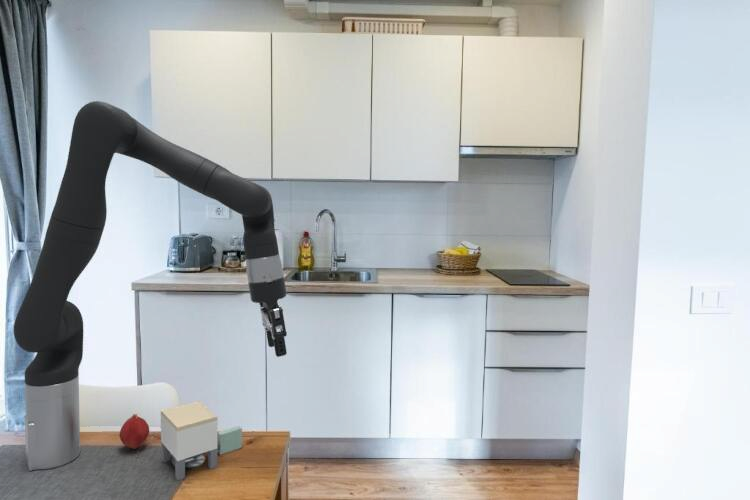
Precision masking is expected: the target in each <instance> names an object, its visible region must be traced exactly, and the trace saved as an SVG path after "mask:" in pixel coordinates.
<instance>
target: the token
mask: <svg viewBox="0 0 750 500" xmlns="http://www.w3.org/2000/svg"><path fill="white" fill-rule="evenodd" d="M205 462H206V456H204V454H203V455H200V456H197V457H194V458H191V459H188V460H185V468H190V469H191V468H197V467H200V466H201V465H203V464H204V463H205Z"/></svg>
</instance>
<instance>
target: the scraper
mask: <svg viewBox="0 0 750 500" xmlns="http://www.w3.org/2000/svg"><path fill="white" fill-rule="evenodd" d="M242 448H243V427H241V426H240V425H237V426H233V427H230V428H227V429H224V430H220V431H217V454H219V455H220V456H222V455H225V454H227V453H230V452H233V451H236V450H239V449H242ZM207 454H208V452H205V453H201V454H198V455H195V456H192V457H189V458H186V459H185V460H188V459H191V458H194V457H197V456H200V455H203V456H204V455H207ZM171 464H172V465H173V466H174V467H175V457H174V456H173V455H172V454H171Z"/></svg>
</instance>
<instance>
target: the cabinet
mask: <svg viewBox="0 0 750 500" xmlns="http://www.w3.org/2000/svg"><path fill="white" fill-rule="evenodd" d="M217 432H218V416H217V414H215V413H214V412H212V411H211V410H210V409H209V408H208V407H206V406H205V404H203V403H201V402H200V400H199V401H194V402H190V403H186V404H182V405H178V406H177V405H176V406H173V407H170V408H165V409H161V410H160V442H161V443H160V447H161V449H160V456H161V458H160V460H161V461H162V462H163V463H166V462H169V461H171V456H172V455H173V456H174V457H175V466H174V469H175V472H174V474H175V475H174V478H175V480H177V482H179V481H181V480H184V479H185V478H186V467H185V459H186V458H189V457H192V456H195V455H198V454H201V453H205V452H208V453H207V467H208V468H209V469H210V470H213V469H216V468H217V467H218V452H217Z"/></svg>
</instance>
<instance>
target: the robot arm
mask: <svg viewBox="0 0 750 500" xmlns="http://www.w3.org/2000/svg"><path fill="white" fill-rule="evenodd" d="M70 136H71V137H70V142H69V144H70V145H69V150H68V155H67V160H66V161H67V162H66V166H65V170H64V174H63V176H62V179H61V182H60V185H59V189H58V193H57V196H56V200H55V203H54V205H53V206H54V207H53V210H52V211H51V214H50V218H49V221H48V226H47V228H46V231H45V236H44V240H43V243H42V244H43V245H42V247H41V251H40V253H39V256H38V260H37V264H36V265H35V270H34V272H33V276H32V280H31V282H30V284H29V286H28V289H27V291H26V294H25V296H24V298H23V301H22V302H21V305H20V308H19V309H18V312H17V314H16V316H15V319H14V324H13V336H14V340H15V342H16V344H17V345H18V346H19V347H20V348H21V349H22V350H23V351H26V352H28V353H36V355H35V356H34V358H33V360H32V361H31V362H30V363H29V364H28V365H27V367H26V368H25V370H24V397H25V398H24V400H25V402H24V403H25V414H24V435H25V436H24V437H25V440H24V441H25V444H24V446H25V460H26V464H27V465H26V466H27V469H28V471H29V472H30V471H35V470H47V469H53V468H57V467H60V466H63V465H66V464H68V463H70V462H72V461H74V460H75V459H77V458H78V457H79V455H80V454H81V428H80V425H81V423H80V417H81V416H80V386H79V385H80V380H79V379H80V378H79V377H80V375H79V373H80V372H79V369H80V365H81V363H82V361H83V354H84V353H83V352H84V319H83V316H82V313H81V311H80V309H79V307H78V306H76V305H75V304H74V302H71V301H68V297H69V294H70V292H71V290H72V288H73V286H74V284H75V283H76V281H77V280H78V278H79V277H80V276H81V274H82V273H83V271H84V270H85V269H86V268H87V266H88V265H89V263H90V262H91V261H92V259H93V257H94V256H95V254H96V252H97V250H98V247H99V245H100V242H101V239H102V237H103V236H102V235H103V232H104V229H105V226H106V221H107V213H108V211H107V209H108V208H107V197H106V180H107V176H108V172H109V169H110V166H111V164H112V160H113V157H114V155H115V154H119V155H123V156H127V157H128V158H132V159H135V160H139V161H141V162H143V163H145V164H148V165H149V166H152V167H154V168H155V169H157V170H159V171H161V172H162V173H164V174H166V175H167V176H169V177H170V178H171V179H173V180H174V181H177V182H178V183H180V184H181V185H184V186H186V187H187V188H190V189H191V190H192V191H195V192H198V194H201V195H203V196H205V197H208V198H209V199H213V200H215V201H217V202H219V203H221V204H222V205H223V206H225V207H227V208H228V209H230V210H232V211H234V212H235V213H237V214H240V215H241V219H242V224H243V231H244V232H243V235H242V243H243V251H244V257H245V265H246V266H245V270H246V275H247V282H248V289H249V294H250V300H251V302H253V303H255V304H259V306H260V315H261V322H262V326H263V328H264V331H265V333H266V339H267V345H268V347H269V348H273V347H274V351H275V352H274V353H275V356H276V358H279V357H283V356H286V355H287V346H286V341H285V337H287V336H288V335H287V334H288V332H287V331H286V324H285V318H284V310H283V308H282V306H280V305H279V302H278V301H279V300H281V299H284V298H286V296H287V289H286V281H285V276H284V269H283V268H284V267H283V264H282V260H281V257H280V252H279V244H278V238H277V235H276V230H275V215H274V214H275V213H274V204H273V198H272V195H271V194H270V191H268V189H267V188H265V187H264V186H262V185H260V184H257V183H256V182H253V181H250V180H249V179H246V178H244V177H242V176H240V175H238V174H235V173H233V172H231V171H230V170H228V169H227V168H226V167H223V166H222V165H220V164H218V163H216V162H214V161H212V160H210V159H208V158H206V157H204V156H202V155H200V154H198V153H196V152H193V151H191V150H189V149H187V148H184V147H182V146H180V145H177V144H175V143H173V142H171V141H169V140H167V139H166V138H163V137H162V136H160V135H159V134H157V133H155V132H154V131H152V130H151V129H149V128H147V127H146V126H145V125H144V124H142V123H141V122H139V121H138V120H137V119H135V118H134V117H132V116H131V115H130V114H129V113H128V112H127V111H125V110H124V109H122V108H119V107H117V106H114V105H112V104H110V103H108V102H106V101H100V100H95V101H94V100H93V101H90V102H88V103H86V104H84V105H82V107H81V108H80V109H79V110H78V112H77V113H76V116H75V118H74V122H73V126H72V131H71V135H70ZM278 329H279V331H277V330H278Z"/></svg>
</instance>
